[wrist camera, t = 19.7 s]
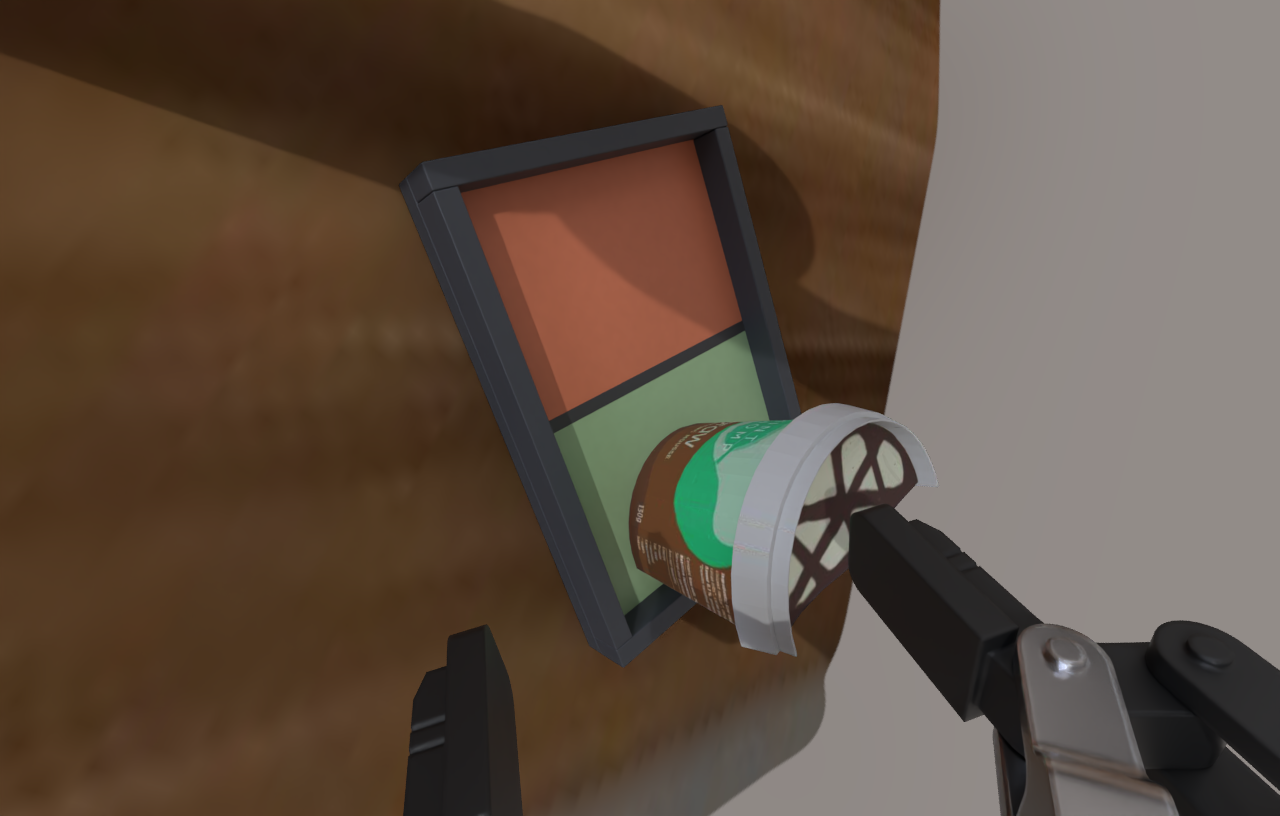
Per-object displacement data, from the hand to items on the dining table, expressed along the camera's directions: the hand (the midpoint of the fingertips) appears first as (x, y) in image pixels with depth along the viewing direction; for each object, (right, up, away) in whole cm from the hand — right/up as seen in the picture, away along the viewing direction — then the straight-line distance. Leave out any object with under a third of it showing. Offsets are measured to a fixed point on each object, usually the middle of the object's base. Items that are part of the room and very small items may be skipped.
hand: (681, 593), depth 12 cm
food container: (+1, +1, +18) cm, 18 cm away
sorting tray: (-1, +6, +17) cm, 18 cm away
